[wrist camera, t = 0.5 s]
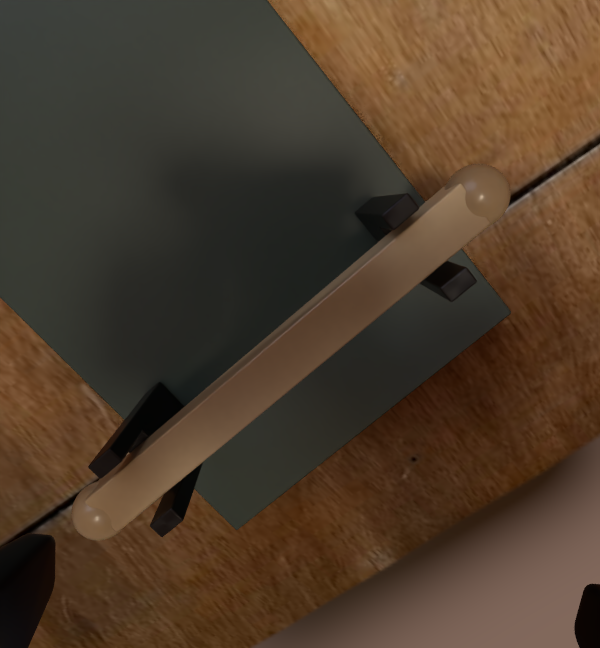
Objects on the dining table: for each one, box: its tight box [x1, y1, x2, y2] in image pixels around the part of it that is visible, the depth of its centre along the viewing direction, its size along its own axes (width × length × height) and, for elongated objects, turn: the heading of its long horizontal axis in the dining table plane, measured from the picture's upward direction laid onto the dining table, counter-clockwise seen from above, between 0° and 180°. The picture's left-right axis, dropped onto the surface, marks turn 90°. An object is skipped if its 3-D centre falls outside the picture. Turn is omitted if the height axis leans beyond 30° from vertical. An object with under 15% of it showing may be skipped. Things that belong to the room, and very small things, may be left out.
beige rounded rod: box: [72, 164, 510, 540], centre depth 17 cm, size 2×19×2 cm, turn 131°
